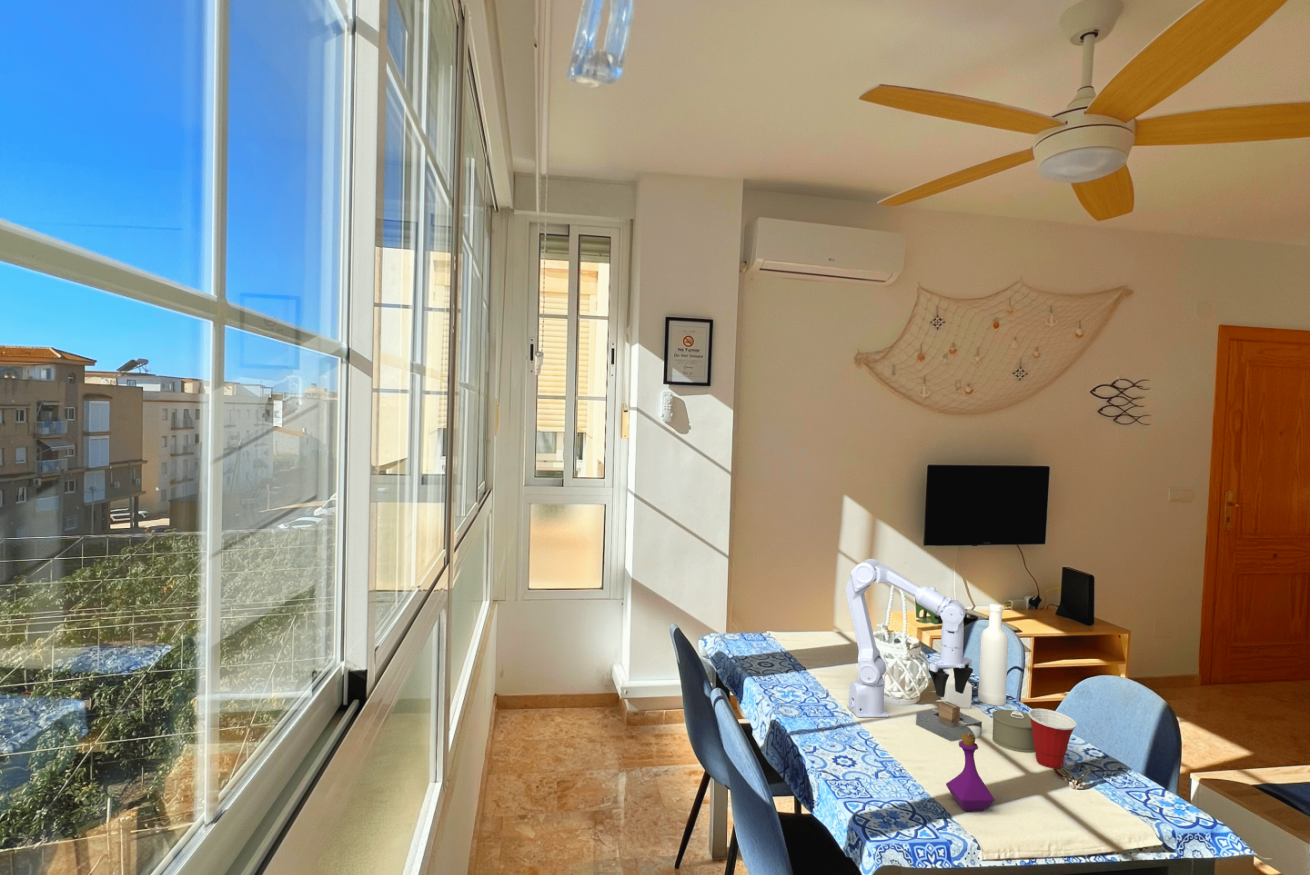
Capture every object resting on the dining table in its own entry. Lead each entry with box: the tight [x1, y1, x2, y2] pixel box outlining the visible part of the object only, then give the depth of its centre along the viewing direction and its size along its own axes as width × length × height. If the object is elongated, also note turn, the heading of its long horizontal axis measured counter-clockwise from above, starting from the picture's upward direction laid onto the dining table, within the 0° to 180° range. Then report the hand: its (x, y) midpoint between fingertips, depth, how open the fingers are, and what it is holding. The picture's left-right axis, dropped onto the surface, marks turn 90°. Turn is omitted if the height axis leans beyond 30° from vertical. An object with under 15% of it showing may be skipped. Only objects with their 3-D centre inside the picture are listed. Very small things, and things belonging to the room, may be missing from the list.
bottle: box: [977, 603, 1009, 707], centre depth 231 cm, size 8×8×30 cm
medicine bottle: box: [940, 668, 973, 709], centre depth 228 cm, size 7×7×12 cm
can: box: [992, 709, 1035, 754], centre depth 200 cm, size 12×12×7 cm
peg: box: [938, 701, 961, 723], centre depth 207 cm, size 3×4×7 cm, turn 27°
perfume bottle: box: [945, 726, 996, 812], centre depth 164 cm, size 8×8×18 cm
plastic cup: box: [1027, 708, 1077, 769], centre depth 187 cm, size 11×11×12 cm
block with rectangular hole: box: [915, 707, 983, 742], centre depth 207 cm, size 12×12×4 cm
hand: (949, 694), depth 207 cm, fingers open, 7 cm apart
